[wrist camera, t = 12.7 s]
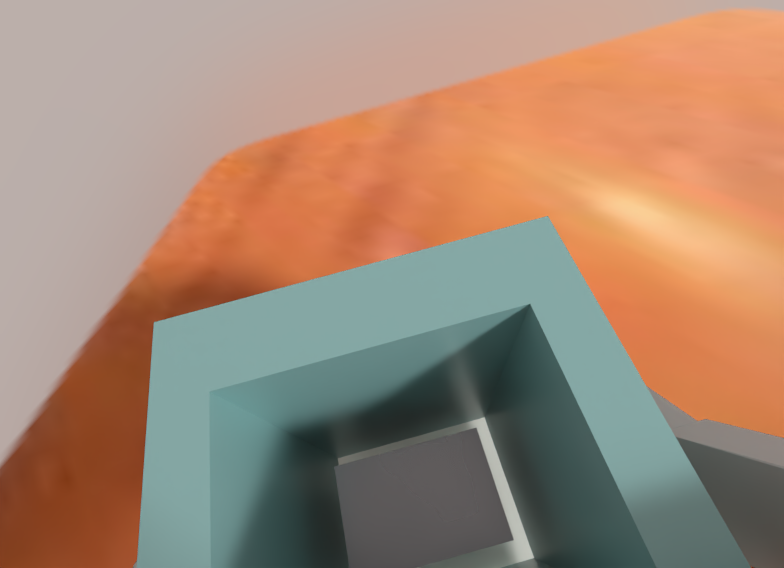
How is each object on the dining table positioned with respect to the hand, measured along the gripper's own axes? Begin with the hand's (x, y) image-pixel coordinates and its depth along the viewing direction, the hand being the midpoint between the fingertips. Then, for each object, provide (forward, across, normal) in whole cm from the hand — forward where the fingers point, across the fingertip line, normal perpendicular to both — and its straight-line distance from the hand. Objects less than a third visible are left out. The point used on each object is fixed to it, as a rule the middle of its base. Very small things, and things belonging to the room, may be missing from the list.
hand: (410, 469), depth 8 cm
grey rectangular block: (+4, 0, +4) cm, 6 cm away
